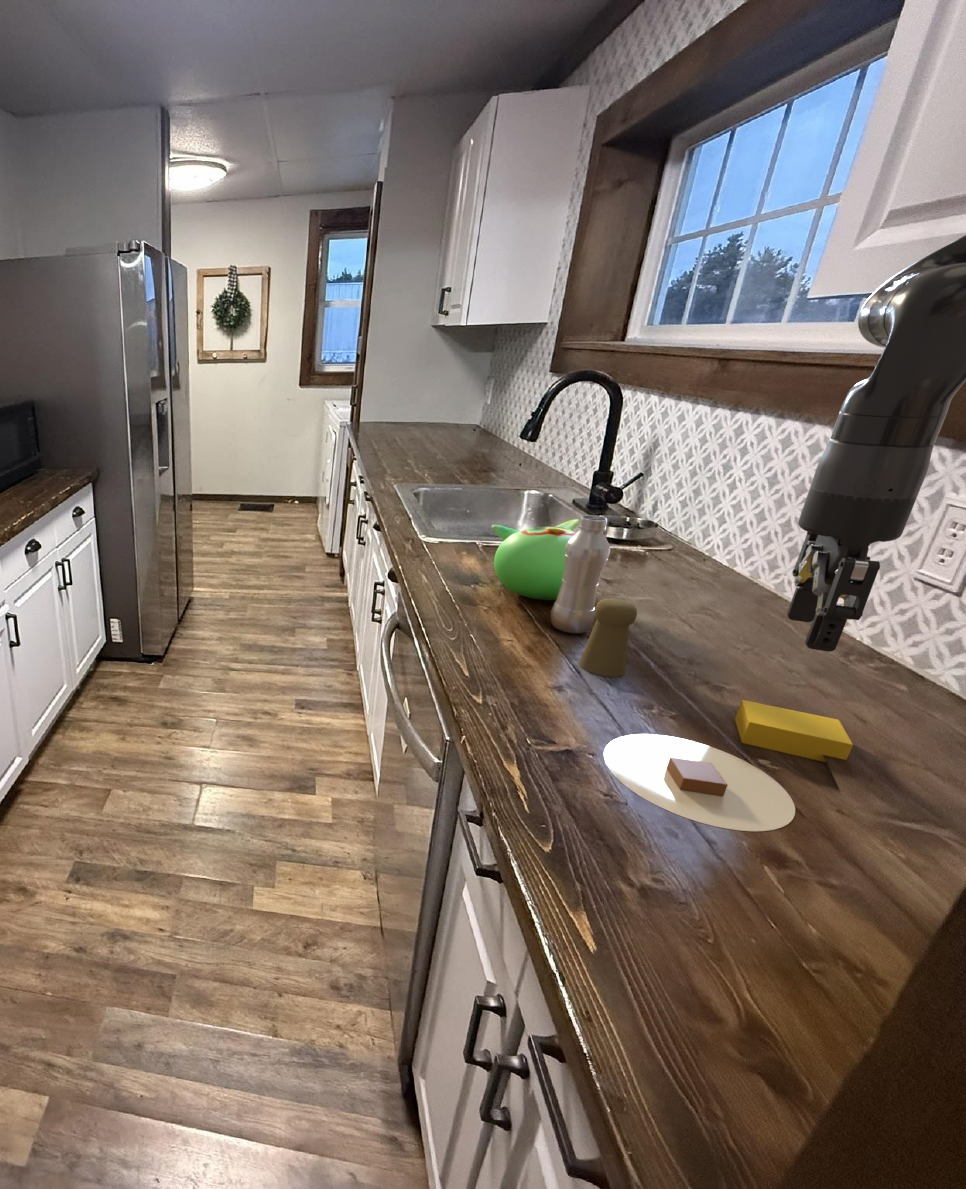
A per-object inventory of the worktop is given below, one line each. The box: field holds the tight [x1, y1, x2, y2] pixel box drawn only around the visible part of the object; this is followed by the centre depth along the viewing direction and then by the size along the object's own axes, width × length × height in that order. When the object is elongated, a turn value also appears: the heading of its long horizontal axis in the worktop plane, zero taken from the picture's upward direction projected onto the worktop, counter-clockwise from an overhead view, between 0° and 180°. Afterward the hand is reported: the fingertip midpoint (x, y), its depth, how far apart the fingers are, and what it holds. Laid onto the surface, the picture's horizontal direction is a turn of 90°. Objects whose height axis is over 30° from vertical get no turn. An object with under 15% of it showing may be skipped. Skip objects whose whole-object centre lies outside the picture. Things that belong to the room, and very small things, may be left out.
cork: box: [578, 597, 638, 678], centre depth 95 cm, size 6×6×11 cm
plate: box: [603, 733, 796, 833], centre depth 71 cm, size 22×22×1 cm
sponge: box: [734, 699, 854, 764], centre depth 77 cm, size 9×6×4 cm, turn 57°
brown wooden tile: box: [667, 757, 727, 796], centre depth 70 cm, size 4×4×2 cm
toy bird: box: [491, 518, 580, 601], centre depth 122 cm, size 18×17×15 cm
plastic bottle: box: [550, 514, 611, 634], centre depth 106 cm, size 6×7×20 cm
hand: (808, 633), depth 69 cm, fingers open, 8 cm apart
